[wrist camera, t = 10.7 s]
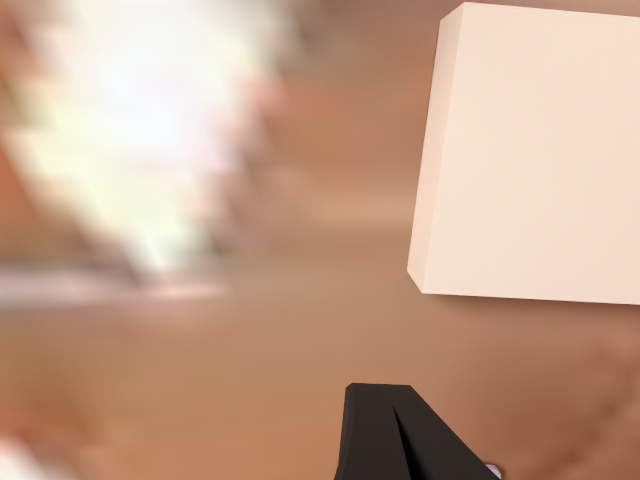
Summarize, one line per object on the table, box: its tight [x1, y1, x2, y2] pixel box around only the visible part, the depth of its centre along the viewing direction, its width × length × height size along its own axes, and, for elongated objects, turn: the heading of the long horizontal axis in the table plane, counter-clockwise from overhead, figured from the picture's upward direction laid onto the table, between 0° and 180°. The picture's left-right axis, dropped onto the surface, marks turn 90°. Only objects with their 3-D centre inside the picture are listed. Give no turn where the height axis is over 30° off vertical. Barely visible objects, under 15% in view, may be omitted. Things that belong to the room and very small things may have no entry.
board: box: [407, 2, 640, 305], centre depth 16 cm, size 10×12×2 cm
